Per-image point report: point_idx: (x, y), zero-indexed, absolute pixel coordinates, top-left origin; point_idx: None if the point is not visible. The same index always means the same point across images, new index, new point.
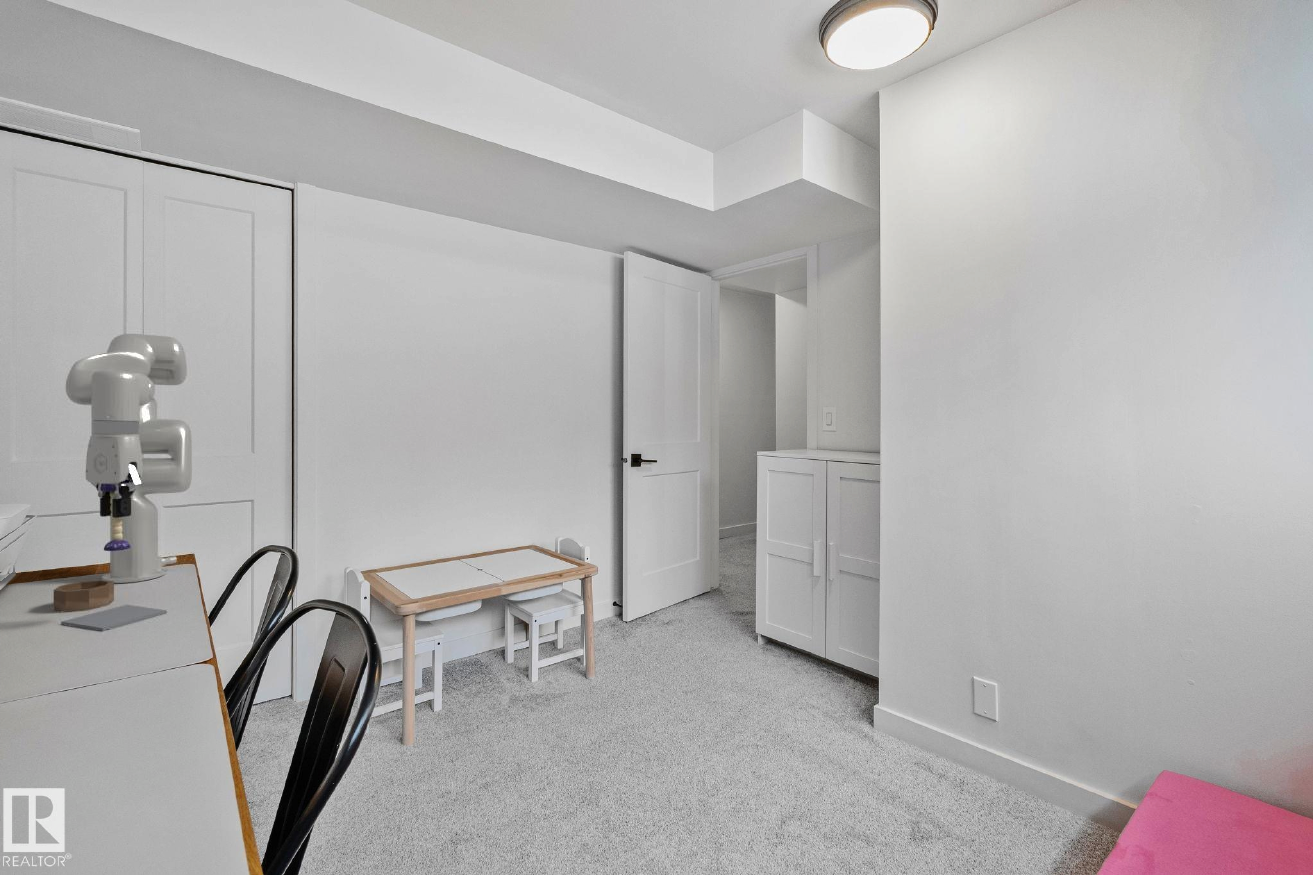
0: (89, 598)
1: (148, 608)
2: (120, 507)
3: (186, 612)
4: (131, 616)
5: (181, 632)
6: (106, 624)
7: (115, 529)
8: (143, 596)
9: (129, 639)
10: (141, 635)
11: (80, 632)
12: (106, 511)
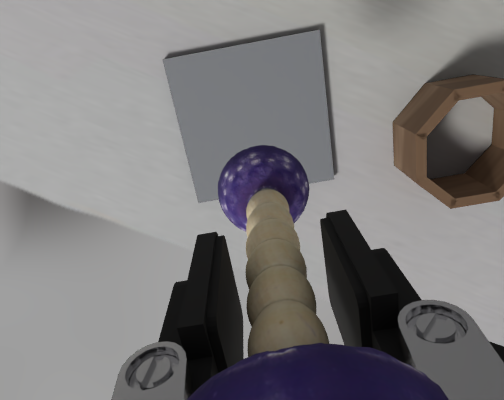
0: (405, 129)
1: None
2: (174, 304)
3: (166, 223)
4: (213, 139)
5: (5, 148)
6: (189, 77)
7: (250, 216)
8: (395, 236)
9: (39, 62)
10: (52, 91)
11: (200, 25)
12: (329, 251)
